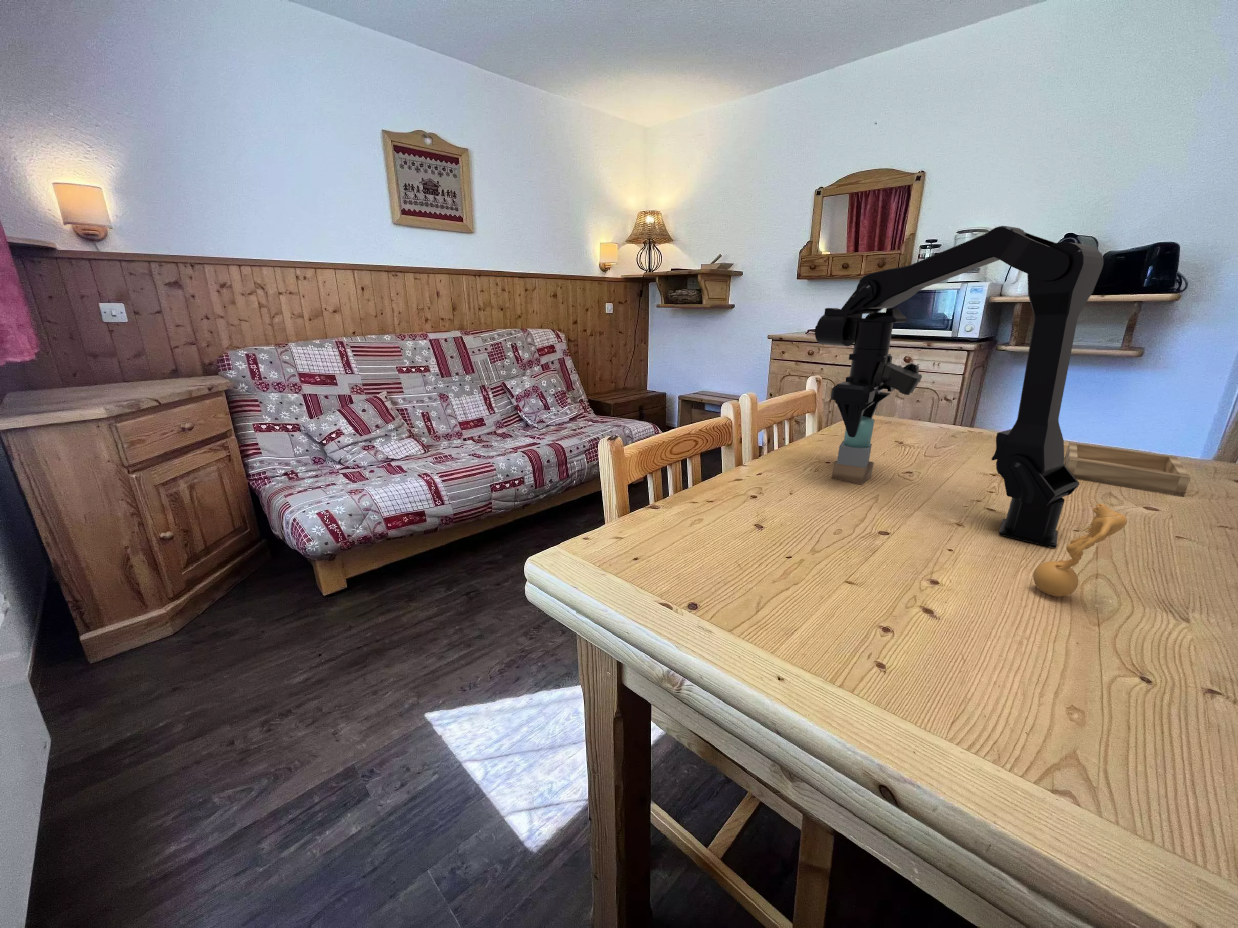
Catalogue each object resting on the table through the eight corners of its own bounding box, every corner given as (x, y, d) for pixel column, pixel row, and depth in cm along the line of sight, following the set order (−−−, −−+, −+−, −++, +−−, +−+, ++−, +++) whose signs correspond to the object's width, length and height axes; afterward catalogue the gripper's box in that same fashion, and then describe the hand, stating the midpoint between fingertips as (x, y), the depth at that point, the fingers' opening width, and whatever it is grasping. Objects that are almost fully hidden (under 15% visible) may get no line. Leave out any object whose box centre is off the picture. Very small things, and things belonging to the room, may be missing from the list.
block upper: (865, 468, 92) (868, 450, 91) (836, 463, 95) (839, 445, 94) (868, 461, 96) (871, 443, 95) (841, 457, 99) (843, 440, 98)
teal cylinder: (866, 449, 92) (870, 423, 90) (840, 444, 94) (844, 419, 93) (872, 444, 95) (877, 418, 93) (847, 439, 98) (851, 414, 96)
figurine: (1038, 574, 63) (1065, 485, 59) (1102, 595, 58) (1136, 500, 55) (1020, 599, 58) (1048, 502, 54) (1089, 623, 53) (1125, 520, 49)
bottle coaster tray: (1183, 496, 88) (1190, 477, 87) (1064, 476, 98) (1069, 459, 96) (1170, 474, 99) (1176, 456, 98) (1064, 458, 109) (1069, 442, 108)
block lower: (860, 486, 93) (863, 468, 92) (831, 479, 97) (833, 462, 96) (870, 479, 97) (873, 462, 96) (841, 472, 100) (844, 456, 99)
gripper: (909, 355, 77) (892, 451, 82) (933, 347, 91) (917, 430, 96) (835, 351, 84) (824, 440, 89) (867, 344, 98) (855, 422, 103)
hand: (858, 433), depth 94 cm, fingers open, 7 cm apart
